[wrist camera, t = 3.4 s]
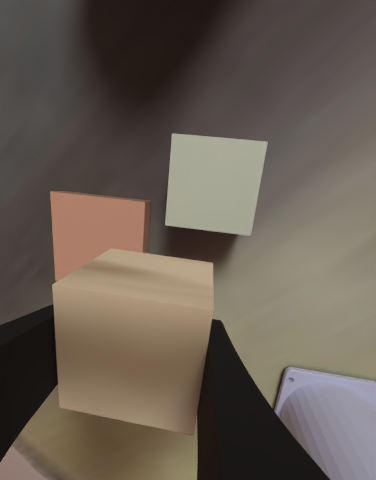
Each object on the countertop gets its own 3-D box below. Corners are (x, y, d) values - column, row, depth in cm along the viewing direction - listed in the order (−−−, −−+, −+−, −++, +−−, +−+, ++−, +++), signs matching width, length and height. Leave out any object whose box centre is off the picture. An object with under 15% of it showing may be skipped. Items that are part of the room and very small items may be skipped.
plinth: (146, 284, 18) (140, 293, 17) (67, 273, 19) (55, 280, 17) (151, 200, 16) (145, 202, 15) (64, 191, 17) (50, 191, 15)
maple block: (199, 350, 11) (193, 435, 8) (109, 334, 12) (59, 407, 8) (213, 262, 10) (213, 310, 6) (111, 248, 10) (52, 284, 7)
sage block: (241, 224, 16) (250, 235, 12) (176, 216, 17) (165, 225, 13) (253, 153, 15) (267, 141, 11) (182, 147, 15) (172, 133, 11)
